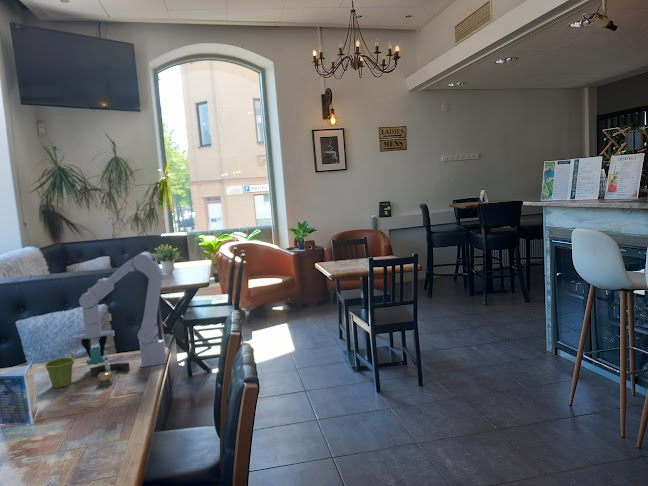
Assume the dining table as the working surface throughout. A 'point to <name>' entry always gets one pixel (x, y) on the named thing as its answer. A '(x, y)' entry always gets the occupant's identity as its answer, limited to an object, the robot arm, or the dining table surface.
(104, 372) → the carrier
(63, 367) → the plant pot
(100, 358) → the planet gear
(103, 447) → the dining table surface
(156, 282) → the robot arm
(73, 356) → the soldier figure
